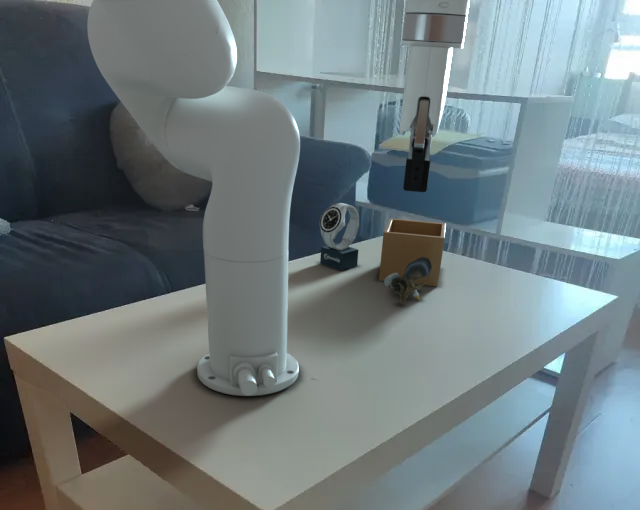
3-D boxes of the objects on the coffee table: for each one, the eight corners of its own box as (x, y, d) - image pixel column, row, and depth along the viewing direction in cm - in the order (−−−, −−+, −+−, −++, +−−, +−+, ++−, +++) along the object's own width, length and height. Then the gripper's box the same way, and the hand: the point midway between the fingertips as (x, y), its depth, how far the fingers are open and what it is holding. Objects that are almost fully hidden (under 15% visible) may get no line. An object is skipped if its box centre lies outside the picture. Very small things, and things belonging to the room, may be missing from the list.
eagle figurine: (435, 303, 100) (441, 276, 107) (415, 266, 97) (422, 240, 103) (393, 320, 104) (401, 293, 111) (372, 285, 101) (381, 259, 107)
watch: (313, 265, 118) (315, 204, 112) (342, 257, 123) (345, 198, 117) (334, 272, 115) (338, 210, 109) (363, 264, 120) (368, 204, 114)
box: (437, 286, 111) (444, 238, 106) (378, 280, 112) (383, 232, 108) (439, 268, 120) (445, 223, 115) (384, 263, 121) (389, 218, 117)
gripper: (407, 32, 84) (392, 178, 93) (398, 30, 71) (382, 199, 81) (464, 35, 83) (443, 182, 92) (465, 34, 70) (441, 204, 80)
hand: (415, 190), depth 87 cm, fingers closed
